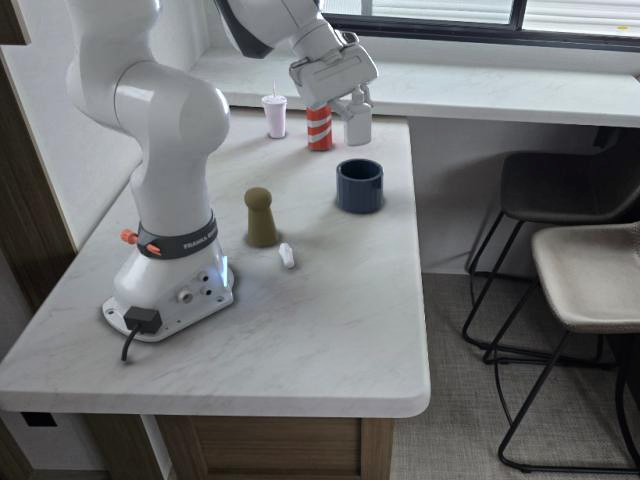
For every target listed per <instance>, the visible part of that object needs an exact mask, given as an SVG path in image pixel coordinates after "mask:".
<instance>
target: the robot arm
mask: <svg viewBox="0 0 640 480" xmlns="http://www.w3.org/2000/svg"><path fill="white" fill-rule="evenodd" d="M62 1H63V3H64V6H65V9H66V11H67V14H68V15H67V16H68V18H69V21H70V25H71V30H72V36H73V43H74V59H73V60H72V61H71V62H70V65H69V66H68V68H67V71H66V74H65V75H66V77H65V87H66V92H67V96H68V97H69V100H70V101H71V103H72V105H73V106H74V107H75V108H76V109H77V110H78V111H79V112H81V113H82V114H83V115H84V116H86V117H87V118H89V119H90V120H91V121H93V122H94V123H96V124H98V125H99V126H101V127H103V128H105V129H106V130H107V129H108V130H110V131H113V132H117V133H119V134H122V135H124V136H127V137H130V138H133V139H134V140H135V141H136V142H137V143H138V145H139V147H140V149H141V152H142V162H141V163H140V164H138V165H137V167H135V169H134V170H133V171H132V173H131V175H130V178H129V187H130V191H131V194H132V197H133V201H134V204H135V207H136V210H137V215H138V218H139V221H138V228H137V233H136V232H133V231H132V230H131V229H128V228H126V229H123V230H122V231H121V232H120V237H119V238H120V239H121V241H123V242H124V243H127V244H128V245H136V246H135V248H134V249H133V251H131V254H130V255H128V257H127V259H126V260H125V262H124V264H123V265H122V266H121V268H120V269H119V270H118V272H117V273H116V274H115V275H114V277H113V278H112V284H111V285H112V287H111V288H112V296H111V297H110V298H109V299H107V300H106V301H105V302H104V303H103V304H102V313H103V316H104V319H105V320H106V321H107V322H108V324H109V325H110V326H112V327H113V328H114V329H115V330H117V331H118V332H119V333H122V335H124V336H126V337H127V338H126V340H125V342H124V344H123V347H122V351H121V358H120V361H123V362H126V361H127V359H128V352H129V348H130V346H131V344H132V341H133V340H136V341H140V342H147V343H148V342H149V343H157V342H160V341H163V340H165V339H166V338H168V337H170V336H172V335H174V334H176V333H177V332H178V333H179V332H180V331H181V330H183V329H185V328H187V327H189V326H191V325H193V324H195V323H197V322H199V321H201V320H203V319H205V318H206V317H209V316H210V315H212V314H215V313H216V312H218V311H220V310H222V309H224V308H227V307H228V306H230V305H232V304H233V303H234V295H233V292H232V290H233V287H234V283H235V275H234V273H233V271H232V269H231V268H230V266H229V264H228V258H227V255H225V256H224V253H223V250H222V247H221V244H220V240H219V238H218V234H219V229H218V224H217V222H218V221H217V218H216V215H215V212H214V210H213V209H212V207H211V202H210V196H209V191H208V183H207V177H206V175H207V174H206V173H207V172H206V171H207V164H208V159H209V157H210V155H211V154H212V153H214V152H216V151H217V150H218V149H219V148H220V147H221V146H222V145H223V144H224V142H225V140H226V139H227V137H228V135H229V132H230V129H231V128H230V127H231V109H230V105H229V103H228V99H227V98H226V96H225V94H224V93H223V92H222V91H221V90H220V89H219V88H218V87H216V86H214V84H211V83H209V82H208V81H207V80H205V79H203V78H201V77H200V76H197V75H195V74H194V73H192V72H189V71H185V70H182V69H179V68H176V67H173V66H169V65H166V64H162V63H160V62H158V61H157V60H156V58H155V57H154V54H153V53H152V48H151V41H150V37H151V36H150V34H151V31H152V30H153V29H154V28H155V27H156V25H158V23H159V22H160V20H161V18H162V16H163V13H164V4H163V3H164V2H163V0H62ZM212 1H213V3H214V5H215V7H216V10H217V12H218V14H219V17H220V18H221V22H222V26H223V29H224V31H225V35H226V36H227V39H228V40H229V42H230V44H231V45H232V46H233V48H234V49H235V50H236V51H237V52H238V53H239V54H241V55H242V56H243V57H245V58H249V59H254V60H264V59H265V58H267V56H268V55H270V54H271V53H272V52H273V51H275V49H276V48H277V47H278V46H279V45H281V44H282V43H284V42H285V41H286V40H287V41H288V43H289V45H290V49H291V51H292V52H293V54H294V56H295V57H296V58H297V61H293V62H291V63H290V64H289V67H288V75H289V77H290V79H291V80H292V81H293V84H294V87H295V89H296V91H297V93H298V95H299V97H300V99H301V100H302V102H303V104H304V106H305V107H307V108H308V109H310V110H311V111H316V110H318V109H320V108H322V107H324V106H326V105H328V106H329V107H330V109H331V111H332V112H334V113H335V114H337V115H338V116H340V117H341V119H342V120H343V122H344V121H345V122H347V121H349V120H351V119H352V118H353V117H354V115H353V113H352V112H351V110H350V108H349V109H346V108H345V107H346V106H344V105H343V104H342V103H341V102H342V101H341V99H342V98H344V97H347V96H348V95H349V96H350V94H351V95H352V91H354V90H355V88H356V85H357V84H358V85H360V90H361V91H363V92H364V102H365V103H367V104H369V105H370V106H371V109H372V108H373V107H374V106H375V103H374V102H373V100H372V98H371V94H370V88H369V85H371V84H372V83H373V82H374V81H376V79H378V77H379V71H378V69H377V67H376V65H375V63H374V61H373V60H372V58H371V57H370V55H369V54H368V52H367V51H366V49H365V48H364V47H363V46H361V44H358V43H359V41H360V39H359V38H358V35H357V34H356V33H355V32H352V31H344V30H339V29H335V28H334V29H333V27H332V26H331V24H330V22H328V21H327V20H326V19H325V17H324V16H323V15H322V14H321V13H323V10H324V5H325V0H212Z"/></svg>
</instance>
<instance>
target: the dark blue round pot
mask: <svg viewBox="0 0 640 480" xmlns="http://www.w3.org/2000/svg"><path fill="white" fill-rule="evenodd" d="M384 171H385V170H384V167H383V166H382V164H380V163H379V162H377V161H375V160H372V159H369V158H368V159H367V158H360V157H359V158H357V157H355V158H350V159H346V160H343V161H341V162H340V163H339V164H338V165H336V169H335V181H336V184H335V185H336V204H337V205H338V207H339V208H340V209H341V210H343V211H345V212H347V213H351V214H355V215H356V214H358V215H359V214H360V215H364V214H370V213H374V212H376V211H378V210H379V209H380V208H381V207H382V205H383V201H384V199H383V198H384V196H383V195H384V176H385V175H384V174H385V172H384Z"/></svg>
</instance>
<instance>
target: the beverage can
mask: <svg viewBox="0 0 640 480" xmlns="http://www.w3.org/2000/svg"><path fill="white" fill-rule="evenodd" d="M305 107H306V106H305ZM305 109H306V127H307V128H306V129H307V145H308V147H310V148H311V149H313V150H314V151H319V152H322V151H327V150H328V149H330V148H331V147H332V146H333V129H332V128H333V127H332V125H333V124H332V110H331V109H330V107H329V106H328V105H326V106H324V107H322V108H320V109H318V110H316V111H311V110H310V109H308V108H307V107H306V108H305Z"/></svg>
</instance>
